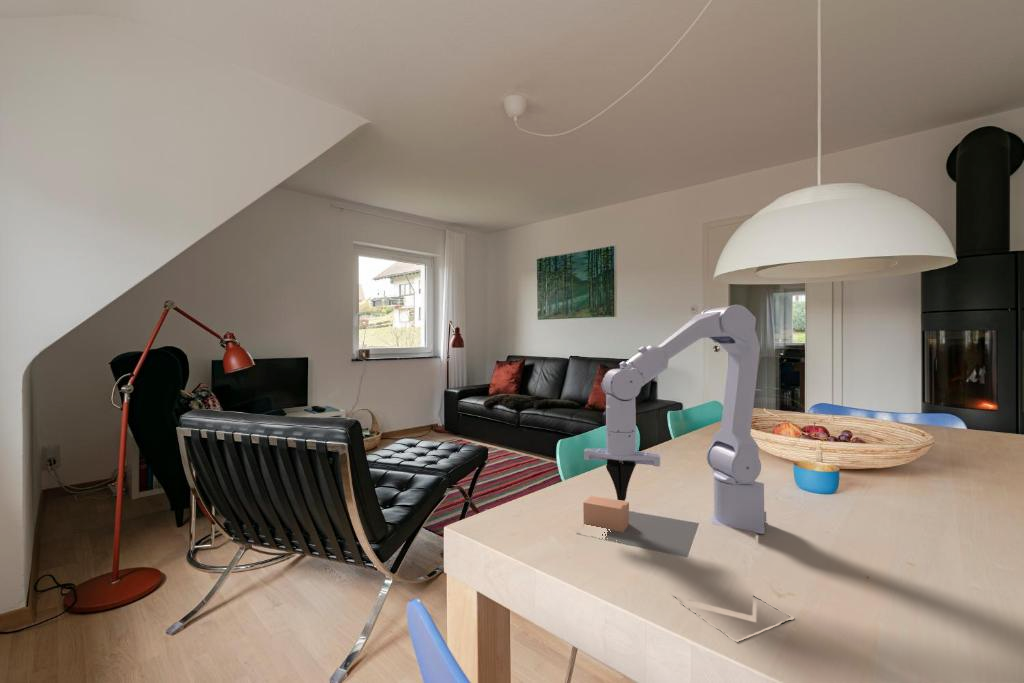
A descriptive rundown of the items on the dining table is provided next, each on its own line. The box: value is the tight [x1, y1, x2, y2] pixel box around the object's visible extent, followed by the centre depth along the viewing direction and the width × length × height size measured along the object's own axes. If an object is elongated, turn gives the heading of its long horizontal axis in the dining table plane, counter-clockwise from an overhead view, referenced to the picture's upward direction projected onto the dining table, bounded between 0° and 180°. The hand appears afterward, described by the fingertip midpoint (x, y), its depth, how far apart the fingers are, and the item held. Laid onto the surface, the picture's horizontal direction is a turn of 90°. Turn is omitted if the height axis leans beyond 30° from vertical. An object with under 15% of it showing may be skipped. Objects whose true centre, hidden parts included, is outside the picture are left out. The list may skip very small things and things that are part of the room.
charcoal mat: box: [598, 510, 699, 558], centre depth 88 cm, size 20×16×1 cm
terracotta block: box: [582, 495, 630, 532], centre depth 90 cm, size 4×4×8 cm
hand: (621, 498), depth 89 cm, fingers closed
